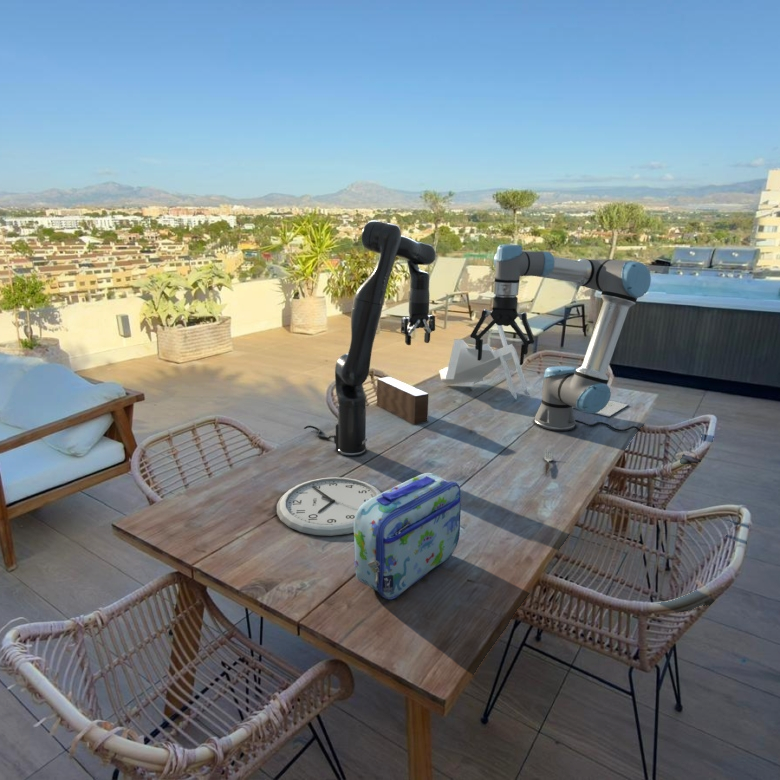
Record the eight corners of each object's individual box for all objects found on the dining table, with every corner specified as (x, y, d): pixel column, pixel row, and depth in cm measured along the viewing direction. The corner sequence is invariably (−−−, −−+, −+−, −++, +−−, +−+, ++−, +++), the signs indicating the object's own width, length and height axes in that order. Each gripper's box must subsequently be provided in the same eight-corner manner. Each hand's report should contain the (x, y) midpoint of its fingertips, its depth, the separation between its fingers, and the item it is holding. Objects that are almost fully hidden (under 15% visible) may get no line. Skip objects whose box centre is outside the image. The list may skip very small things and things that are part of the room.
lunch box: (382, 612, 103) (384, 519, 97) (347, 586, 110) (346, 498, 104) (464, 557, 121) (469, 475, 114) (429, 538, 128) (432, 460, 122)
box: (376, 404, 224) (377, 378, 220) (389, 402, 227) (389, 376, 224) (414, 424, 202) (415, 396, 199) (427, 421, 205) (428, 393, 202)
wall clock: (392, 527, 129) (268, 531, 127) (391, 533, 130) (269, 537, 127) (383, 473, 158) (282, 475, 155) (383, 478, 158) (282, 480, 156)
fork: (541, 474, 162) (542, 468, 162) (545, 454, 177) (545, 449, 176) (550, 476, 162) (550, 470, 161) (553, 456, 176) (553, 450, 175)
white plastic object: (461, 429, 252) (437, 405, 227) (444, 352, 274) (420, 323, 250) (535, 404, 240) (518, 377, 215) (510, 326, 262) (492, 293, 237)
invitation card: (608, 416, 214) (573, 407, 224) (608, 416, 214) (573, 408, 224) (628, 404, 229) (594, 396, 238) (628, 405, 229) (594, 397, 238)
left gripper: (409, 303, 186) (407, 347, 191) (440, 300, 194) (438, 343, 198) (397, 300, 192) (396, 343, 197) (428, 298, 200) (426, 340, 204)
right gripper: (463, 294, 164) (459, 360, 171) (545, 299, 156) (538, 368, 162) (469, 292, 171) (465, 355, 177) (548, 297, 162) (541, 363, 169)
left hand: (417, 343), depth 198 cm, fingers open, 8 cm apart
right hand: (500, 361), depth 170 cm, fingers open, 13 cm apart
